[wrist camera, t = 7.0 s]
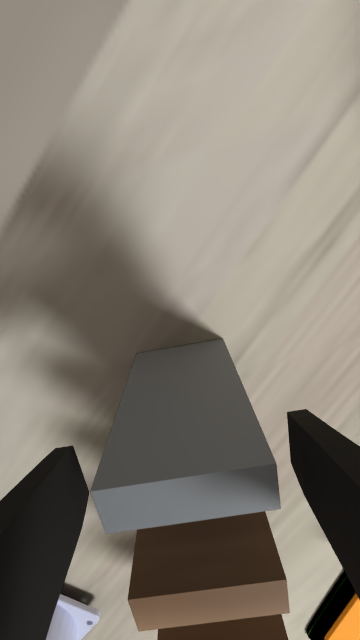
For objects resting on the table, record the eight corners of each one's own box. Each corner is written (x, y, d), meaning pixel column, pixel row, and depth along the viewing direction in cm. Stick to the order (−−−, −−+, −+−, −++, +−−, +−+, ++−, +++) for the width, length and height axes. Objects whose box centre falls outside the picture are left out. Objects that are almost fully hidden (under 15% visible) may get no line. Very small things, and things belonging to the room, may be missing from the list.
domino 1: (136, 353, 16) (90, 491, 8) (222, 338, 16) (276, 463, 7) (142, 378, 17) (105, 534, 8) (226, 363, 16) (280, 509, 8)
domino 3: (242, 482, 19) (297, 688, 10) (170, 492, 19) (164, 703, 11) (240, 463, 19) (294, 662, 10) (165, 474, 19) (155, 679, 10)
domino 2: (235, 428, 18) (289, 612, 9) (157, 440, 18) (138, 631, 9) (232, 407, 17) (286, 579, 9) (152, 419, 17) (127, 599, 9)
